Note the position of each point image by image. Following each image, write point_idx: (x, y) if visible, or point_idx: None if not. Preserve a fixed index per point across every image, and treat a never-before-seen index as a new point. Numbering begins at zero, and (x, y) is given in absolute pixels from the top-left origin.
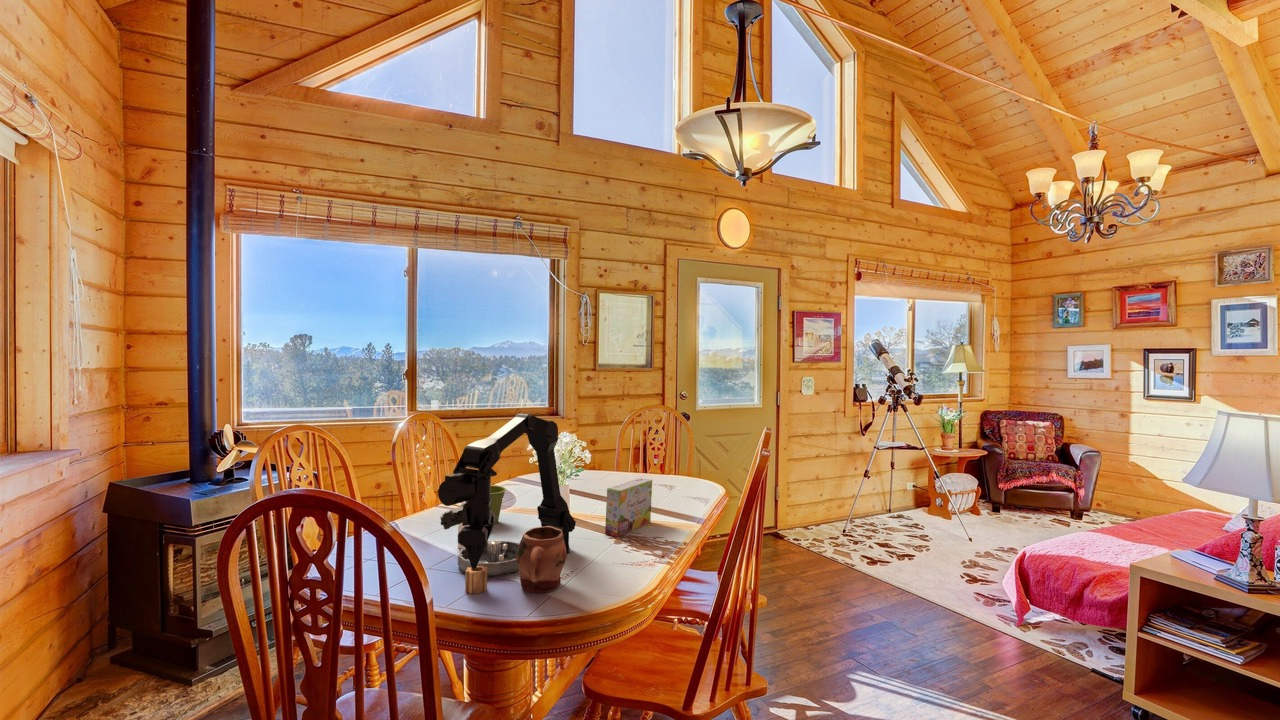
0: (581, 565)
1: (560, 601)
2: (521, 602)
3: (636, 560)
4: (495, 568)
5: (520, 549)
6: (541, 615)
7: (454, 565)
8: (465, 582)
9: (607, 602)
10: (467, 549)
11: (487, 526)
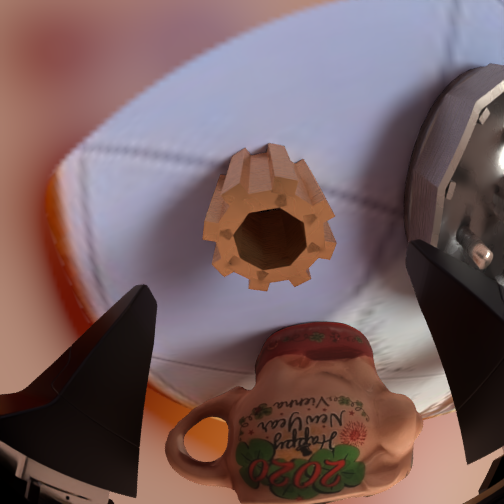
0: (422, 370)
1: (227, 386)
2: (197, 338)
3: None
4: None
5: (253, 462)
6: (152, 369)
7: (497, 50)
8: (240, 160)
9: None
10: (33, 389)
11: (487, 452)
